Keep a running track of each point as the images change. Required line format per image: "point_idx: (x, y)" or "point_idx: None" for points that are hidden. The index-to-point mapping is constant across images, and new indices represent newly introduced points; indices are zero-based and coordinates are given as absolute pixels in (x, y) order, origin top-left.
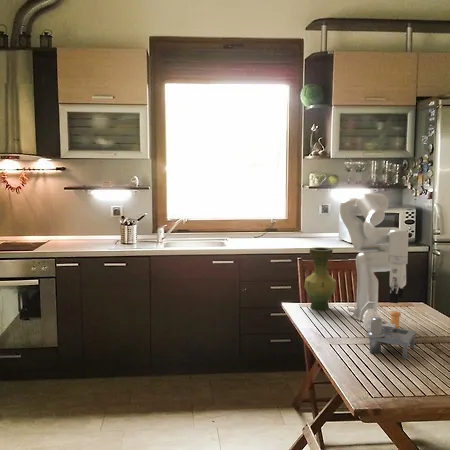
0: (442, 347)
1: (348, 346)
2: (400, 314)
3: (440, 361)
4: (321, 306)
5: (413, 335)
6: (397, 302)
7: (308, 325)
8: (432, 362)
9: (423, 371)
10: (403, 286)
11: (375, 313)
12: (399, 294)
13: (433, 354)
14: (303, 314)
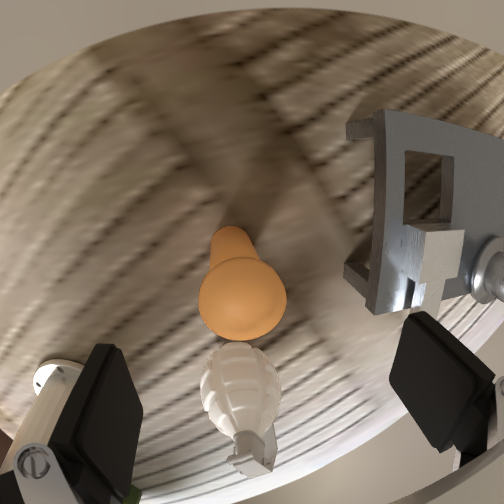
0: (271, 17)
1: None
2: (245, 259)
3: (423, 37)
4: (129, 493)
5: (433, 120)
6: (426, 315)
7: (287, 470)
8: (443, 62)
9: (496, 96)
10: (456, 497)
11: (250, 398)
12: (119, 410)
13: (379, 50)
14: (200, 498)
